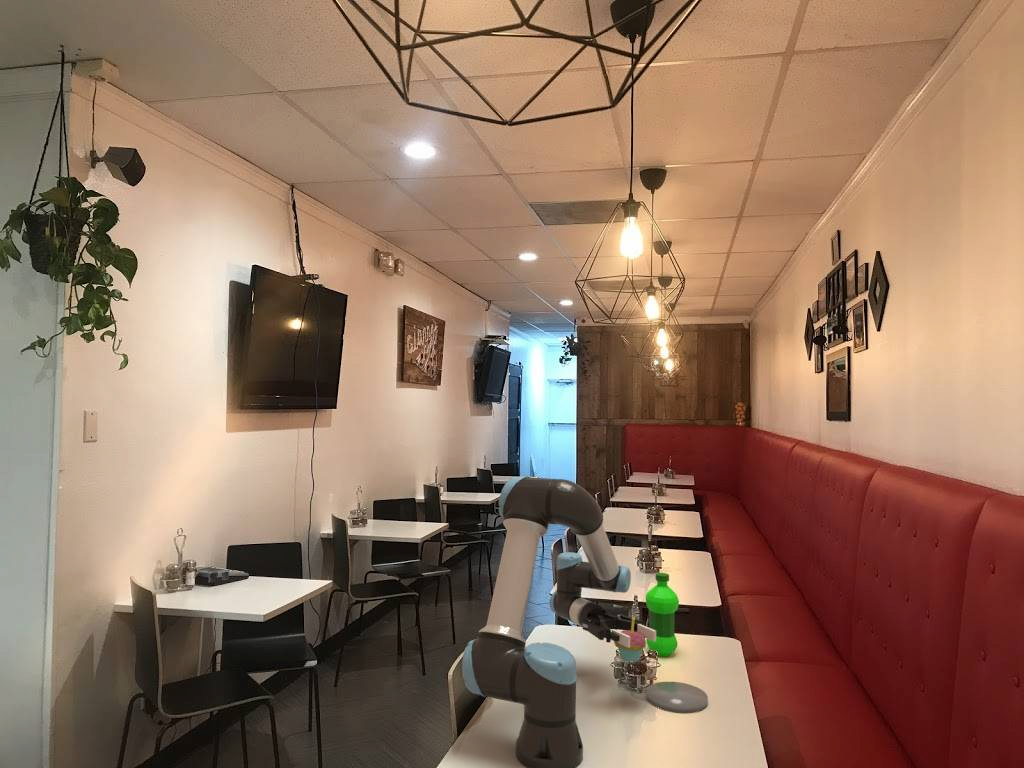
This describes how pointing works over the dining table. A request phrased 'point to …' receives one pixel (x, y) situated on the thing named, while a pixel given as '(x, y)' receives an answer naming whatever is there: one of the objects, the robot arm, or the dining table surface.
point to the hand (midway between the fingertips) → (642, 639)
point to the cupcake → (632, 645)
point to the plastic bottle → (662, 616)
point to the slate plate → (677, 697)
